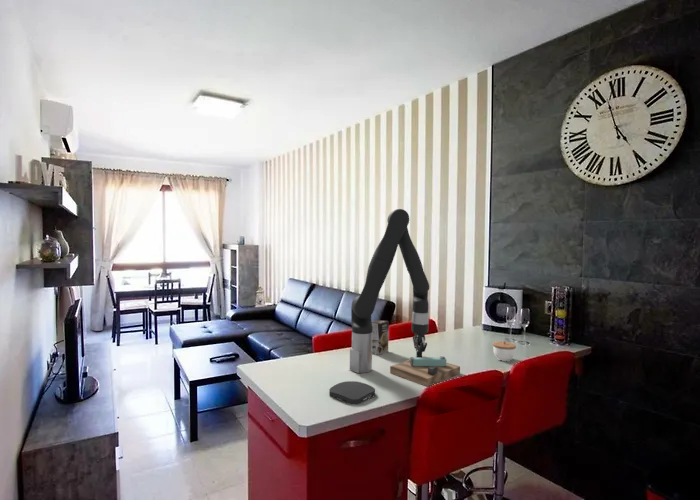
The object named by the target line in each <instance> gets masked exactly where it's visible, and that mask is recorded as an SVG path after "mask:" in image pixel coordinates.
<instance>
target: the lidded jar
mask: <svg viewBox="0 0 700 500" xmlns="http://www.w3.org/2000/svg"><path fill="white" fill-rule="evenodd" d="M516 349H517V345H516V344H515V343H512V342H508V341H506V340H503V341H493V342H492V351H493V354H494V356H495V357H496V358H497V360H498V361H500V360H502V361H501V362H506V361H507V362H511V361H512V360H513V358H514V357H515V355H516V353H517V352H516ZM510 360H511V361H510Z"/></svg>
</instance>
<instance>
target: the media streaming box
mask: <svg viewBox="0 0 700 500" xmlns="http://www.w3.org/2000/svg"><path fill="white" fill-rule="evenodd" d="M328 390H329V392H328V393H329V397H330V398H332V399H334V400H337V401H340V402H342V403H345V404H347V405H360V404H363V403H364V402H367V401H368V399H369V400H371V399H372V398H374V397H376V388H375V387H373V386H372V385H369V384H367V383H364V382H361V381H355V380H354V381H353V380H352V381H351V380H349V381H348V380H347V381H342V382H338V383H336V384H334V385H333V386H331V387H330V388H329V389H328ZM373 396H374V397H373ZM371 397H372V398H371Z"/></svg>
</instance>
